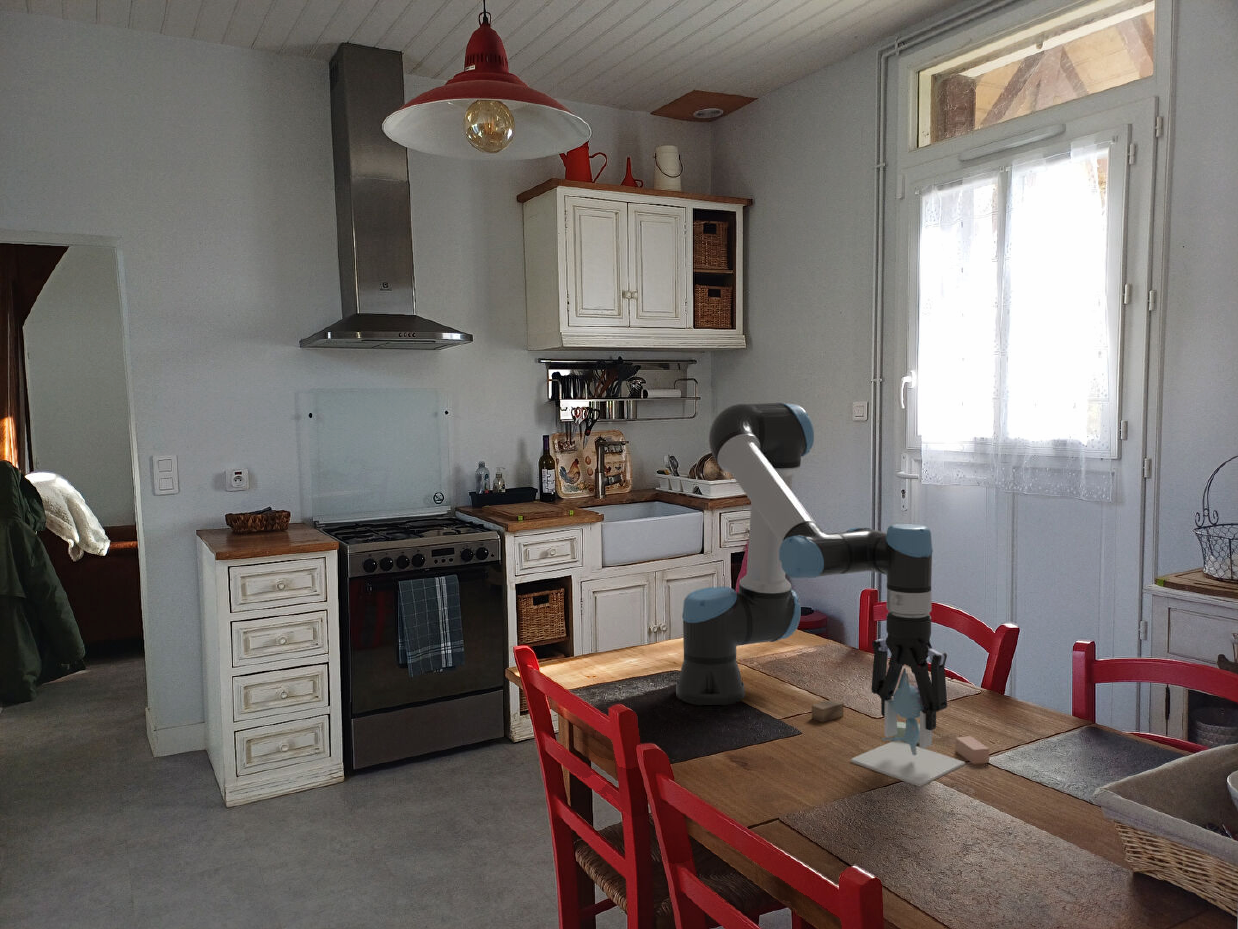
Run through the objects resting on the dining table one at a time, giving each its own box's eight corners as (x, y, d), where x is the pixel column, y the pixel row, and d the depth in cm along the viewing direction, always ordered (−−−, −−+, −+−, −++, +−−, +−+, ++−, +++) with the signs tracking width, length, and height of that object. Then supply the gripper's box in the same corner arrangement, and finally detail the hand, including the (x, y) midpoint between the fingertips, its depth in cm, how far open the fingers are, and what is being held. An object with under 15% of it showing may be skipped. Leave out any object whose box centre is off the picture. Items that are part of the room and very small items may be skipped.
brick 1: (822, 723, 181) (822, 709, 181) (811, 719, 183) (811, 705, 183) (843, 717, 184) (843, 703, 184) (832, 713, 187) (832, 699, 187)
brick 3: (955, 753, 165) (955, 737, 165) (970, 752, 166) (970, 736, 165) (973, 766, 159) (973, 750, 159) (989, 765, 160) (989, 748, 159)
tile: (850, 762, 161) (850, 759, 161) (896, 742, 170) (896, 739, 170) (919, 787, 150) (919, 784, 150) (965, 765, 159) (965, 762, 159)
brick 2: (893, 742, 171) (893, 727, 171) (894, 736, 174) (894, 721, 173) (926, 746, 169) (926, 730, 168) (927, 740, 171) (927, 725, 171)
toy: (911, 762, 155) (915, 679, 155) (881, 750, 161) (884, 670, 160) (935, 755, 159) (939, 674, 158) (905, 744, 165) (909, 665, 164)
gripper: (850, 606, 163) (849, 730, 165) (947, 626, 148) (945, 762, 150) (875, 600, 168) (874, 721, 170) (971, 619, 153) (969, 751, 155)
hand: (907, 740), depth 160 cm, fingers closed on toy, 6 cm apart
